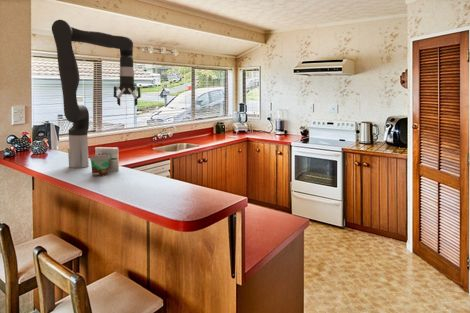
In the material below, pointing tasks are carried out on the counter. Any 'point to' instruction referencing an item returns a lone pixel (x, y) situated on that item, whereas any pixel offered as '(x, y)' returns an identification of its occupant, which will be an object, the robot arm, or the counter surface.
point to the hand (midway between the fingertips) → (127, 105)
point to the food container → (100, 164)
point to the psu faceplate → (114, 158)
